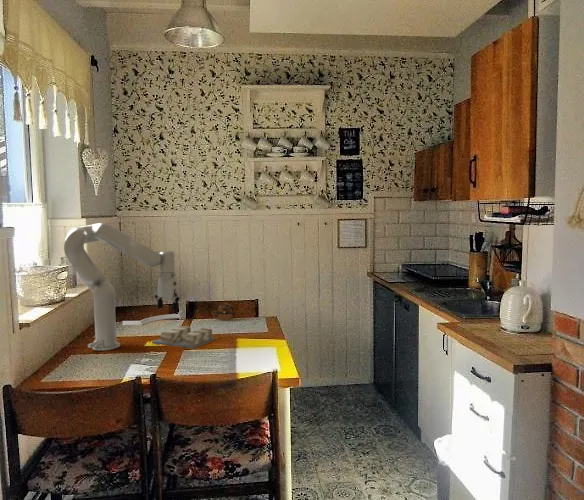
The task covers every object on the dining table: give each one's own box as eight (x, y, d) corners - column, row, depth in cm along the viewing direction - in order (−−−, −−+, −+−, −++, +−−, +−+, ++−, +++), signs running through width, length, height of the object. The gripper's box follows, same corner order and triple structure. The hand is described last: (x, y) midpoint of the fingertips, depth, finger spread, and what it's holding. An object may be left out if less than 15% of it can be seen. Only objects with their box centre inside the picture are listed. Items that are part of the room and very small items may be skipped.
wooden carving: (210, 320, 296) (209, 304, 295) (213, 319, 301) (212, 302, 300) (236, 321, 293) (236, 304, 292) (239, 320, 297) (238, 303, 296)
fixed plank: (192, 345, 237) (192, 336, 237) (182, 344, 240) (182, 335, 239) (212, 337, 251) (211, 329, 251) (202, 336, 254) (201, 328, 254)
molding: (181, 314, 319) (181, 309, 319) (192, 316, 311) (192, 312, 311) (118, 325, 290) (118, 320, 289) (128, 328, 281) (128, 323, 281)
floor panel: (193, 348, 236) (193, 346, 236) (152, 343, 246) (152, 341, 246) (214, 339, 252) (214, 337, 252) (175, 335, 263) (175, 333, 263)
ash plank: (172, 343, 242) (172, 334, 242) (161, 341, 245) (160, 333, 245) (192, 335, 256) (192, 327, 256) (181, 334, 260) (181, 326, 259)
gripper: (185, 275, 250) (186, 309, 251) (159, 273, 258) (159, 306, 259) (175, 277, 243) (176, 311, 244) (148, 275, 251) (149, 308, 252)
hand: (167, 309), depth 252 cm, fingers open, 9 cm apart
